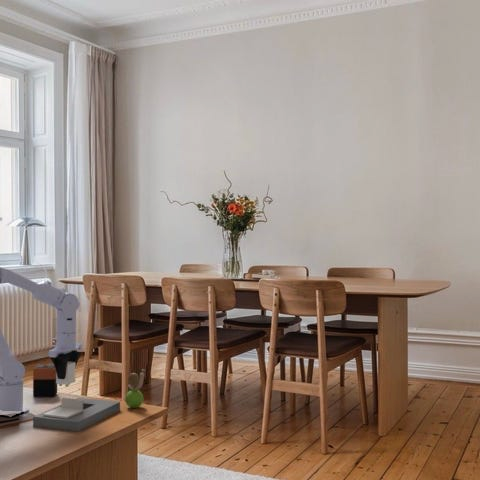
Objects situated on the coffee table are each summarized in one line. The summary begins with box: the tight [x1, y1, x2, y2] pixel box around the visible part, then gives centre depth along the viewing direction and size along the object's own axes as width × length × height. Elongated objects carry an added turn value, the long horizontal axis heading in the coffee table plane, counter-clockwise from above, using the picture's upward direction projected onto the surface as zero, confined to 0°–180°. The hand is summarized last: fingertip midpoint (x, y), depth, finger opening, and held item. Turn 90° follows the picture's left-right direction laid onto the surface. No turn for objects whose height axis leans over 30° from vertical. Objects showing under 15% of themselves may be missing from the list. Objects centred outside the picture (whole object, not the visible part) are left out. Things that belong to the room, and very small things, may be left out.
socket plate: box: [32, 397, 121, 432], centre depth 179 cm, size 14×22×2 cm, turn 161°
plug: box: [56, 362, 76, 388], centre depth 192 cm, size 4×4×7 cm
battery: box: [32, 363, 58, 398], centre depth 204 cm, size 4×7×10 cm, turn 93°
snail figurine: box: [124, 368, 146, 409], centre depth 190 cm, size 5×6×12 cm
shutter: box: [43, 397, 83, 419], centre depth 174 cm, size 8×9×3 cm
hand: (65, 377), depth 192 cm, fingers closed on plug, 4 cm apart
